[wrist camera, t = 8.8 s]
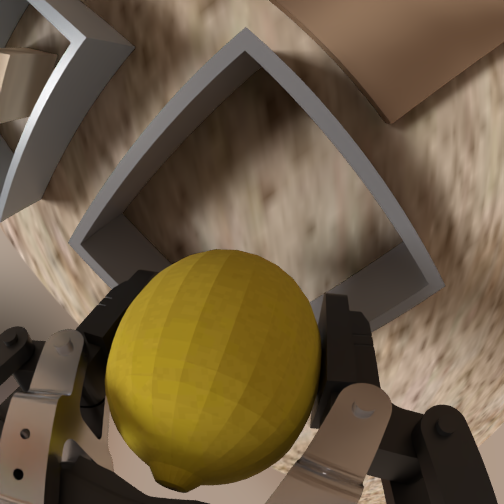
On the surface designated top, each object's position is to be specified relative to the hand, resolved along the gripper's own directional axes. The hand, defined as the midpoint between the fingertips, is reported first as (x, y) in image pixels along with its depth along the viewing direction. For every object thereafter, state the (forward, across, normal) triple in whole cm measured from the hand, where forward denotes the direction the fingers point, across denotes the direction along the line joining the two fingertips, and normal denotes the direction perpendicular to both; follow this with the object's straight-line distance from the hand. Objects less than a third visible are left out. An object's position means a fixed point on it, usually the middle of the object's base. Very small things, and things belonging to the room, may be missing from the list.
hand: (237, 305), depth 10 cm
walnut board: (+6, -5, -15) cm, 17 cm away
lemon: (+2, 0, 0) cm, 2 cm away
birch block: (+6, +15, -10) cm, 19 cm away
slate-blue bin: (+5, +15, -10) cm, 19 cm away
